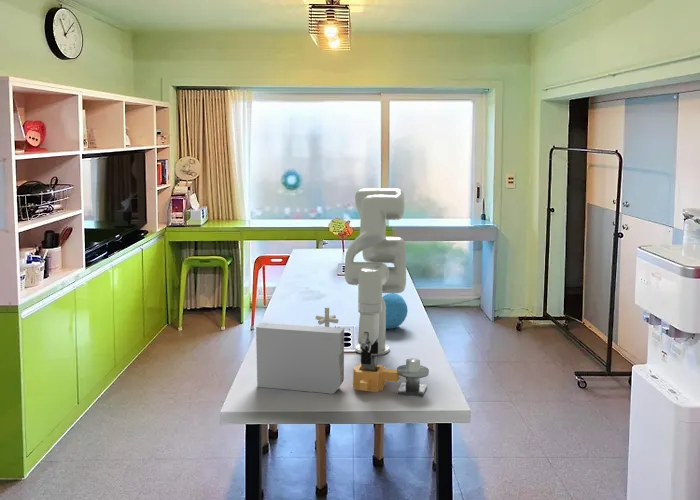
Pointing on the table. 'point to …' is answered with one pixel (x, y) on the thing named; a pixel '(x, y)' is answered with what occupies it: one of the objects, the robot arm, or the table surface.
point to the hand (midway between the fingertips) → (369, 358)
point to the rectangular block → (370, 367)
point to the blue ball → (394, 310)
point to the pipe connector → (326, 318)
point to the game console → (300, 357)
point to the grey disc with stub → (412, 378)
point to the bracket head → (373, 378)
